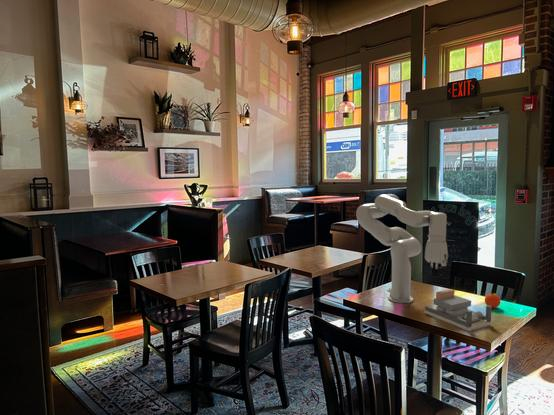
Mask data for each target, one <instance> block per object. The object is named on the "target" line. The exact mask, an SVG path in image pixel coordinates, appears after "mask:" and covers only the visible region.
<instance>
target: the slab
mask: <svg viewBox="0 0 554 415" xmlns="http://www.w3.org/2000/svg"><path fill="white" fill-rule="evenodd" d="M432 304H433V305H435V306H440V307H443V308H446V309H448V310H451V311H452V310H456V309H460V308H465V307H467V308H469V307H471V306H472V300H470V299H467V298H464V297H462V296H458V295H456V294H455V289H452V288H448V289H444V290H439V291H436V292H435V298H433V302H432Z"/></svg>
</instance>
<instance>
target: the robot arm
mask: <svg viewBox="0 0 554 415" xmlns="http://www.w3.org/2000/svg"><path fill="white" fill-rule="evenodd" d="M355 211H356V212H355V215H356V220H357V223H358V224H359V225H360V227H362V228H363V229H364V230H365V231H367V232H368V233H370V235H371V236H373V237H374V239H376V240H378V241H379V242H380V243H381V244H382V245H384V246H386V247H390V256H391V287H389V288H388V289H387V290H386V291H387V292H388V293H389V294H388V296H387V299H388V300H389V301H390V302H394V303H398V304H410V303H412V302H413V301H414V297H412V295H411V286H412V285H411V284H412V283H411V281H412V280H411V278H412V265H411V261H410V258H411V257H416V256H418V255H420V253H421V252H422V245H421V242H420V241H419V240H418V239H417V238H416V237H414V236H413V235H412V234H411V233H409V232H408V231H407V230H406V229H404V228H403V227H399V226H394V227H389V226H387V225H385V224H384V223H383V222H382V221H380V220H378V219H379V218H383V217H384V216H386V215H388V214H389V215H392V216H394V217H396V218H397V220H398V221H400V222H401V223H403V224H406V225H408V226H411V227H413V228H421V227H428V234H427V237H428V240H427V241H426V244H425V249H424V259H425V261H426V262H427V263H429V265H430V267H431V276H432V277H434V278H436V277H440V274H441V272H440V271H441V269H442V268H443V267H446V266H447V263H448V255H449V253H448V244H447V241H446V240H447V239H446V238H447V214H446V213H444V212H437V211H436V212H435V211H431V210H418V211H416V210H413V209H412V210H411V209H409V208H407V203H406V202H405V201H403V200H400V198H399V196H397V195H396V194H394V193H393V194H392V193H387V194H380V195H378V196H376V198H375V199H374V203H373V202H372V203H371V202H370V203H364V204H360V205H359V206H358V207H357V209H356V210H355Z"/></svg>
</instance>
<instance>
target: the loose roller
mask: <svg viewBox="0 0 554 415" xmlns="http://www.w3.org/2000/svg"><path fill="white" fill-rule="evenodd" d="M483 315H484V314H483V312H481V311H480V310H477V311H474V312H473V313H472V323H473V322H477V321H481V320H483V318H484V316H483ZM462 319H463V320H465V321H466V314H465V315H463V316H462Z"/></svg>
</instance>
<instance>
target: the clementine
mask: <svg viewBox="0 0 554 415" xmlns="http://www.w3.org/2000/svg"><path fill="white" fill-rule="evenodd" d="M484 303H485V305H486V306H492V309H495V308H497V307H500V304H501V298H500V296H499V294H497V293H489V294H486V296H485V297H484Z"/></svg>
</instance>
